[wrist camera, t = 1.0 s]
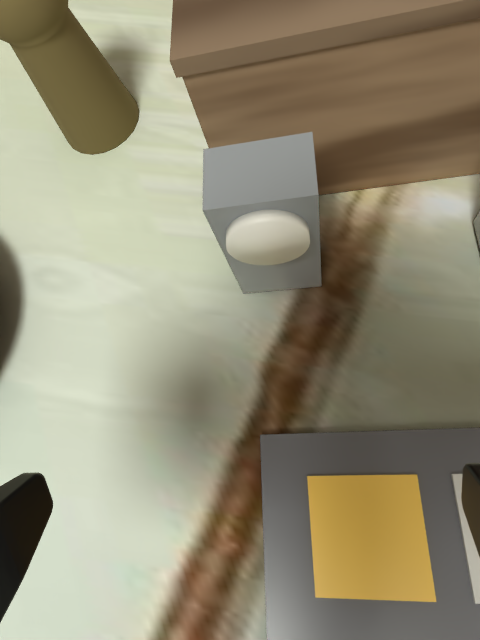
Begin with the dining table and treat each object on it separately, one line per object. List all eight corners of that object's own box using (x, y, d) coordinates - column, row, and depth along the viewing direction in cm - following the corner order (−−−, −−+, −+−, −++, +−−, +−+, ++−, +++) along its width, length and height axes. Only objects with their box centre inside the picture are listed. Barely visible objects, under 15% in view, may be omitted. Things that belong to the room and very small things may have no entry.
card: (687, 667, 16) (703, 676, 15) (268, 643, 19) (266, 649, 18) (611, 424, 19) (621, 422, 18) (261, 435, 22) (259, 434, 21)
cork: (136, 82, 32) (48, -95, 22) (142, 141, 30) (47, -25, 20) (65, 104, 33) (-51, -57, 23) (66, 163, 31) (-62, 14, 21)
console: (565, 165, 23) (739, -56, 13) (227, 209, 27) (169, 60, 17) (542, 99, 25) (683, -141, 15) (227, 150, 28) (174, -18, 18)
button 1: (322, 296, 23) (319, 208, 15) (243, 303, 24) (202, 223, 16) (317, 239, 24) (312, 131, 16) (242, 248, 25) (203, 149, 17)
